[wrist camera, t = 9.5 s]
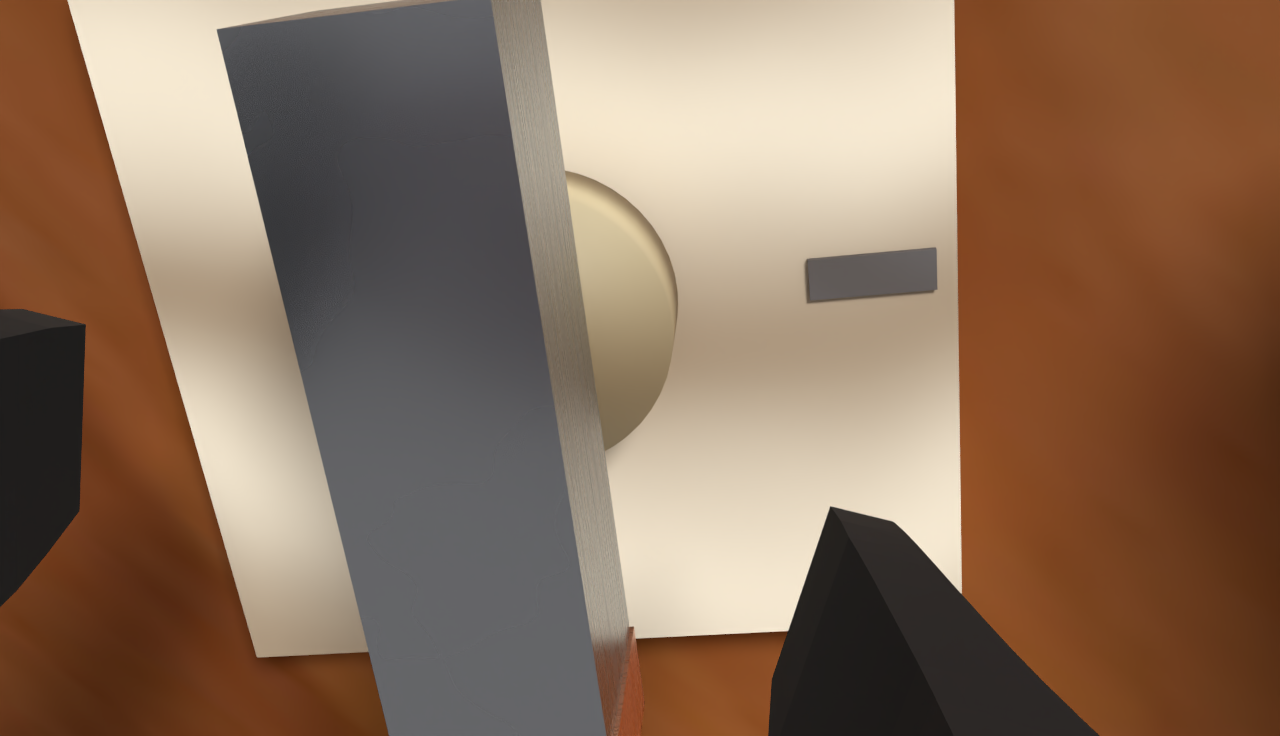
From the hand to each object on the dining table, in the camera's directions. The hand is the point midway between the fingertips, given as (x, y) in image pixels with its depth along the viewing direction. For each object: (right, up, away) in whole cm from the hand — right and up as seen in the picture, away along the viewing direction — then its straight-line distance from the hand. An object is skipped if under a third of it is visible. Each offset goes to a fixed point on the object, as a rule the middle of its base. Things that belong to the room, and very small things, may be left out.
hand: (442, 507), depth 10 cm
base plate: (+1, +3, +7) cm, 8 cm away
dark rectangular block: (0, +2, +4) cm, 5 cm away
